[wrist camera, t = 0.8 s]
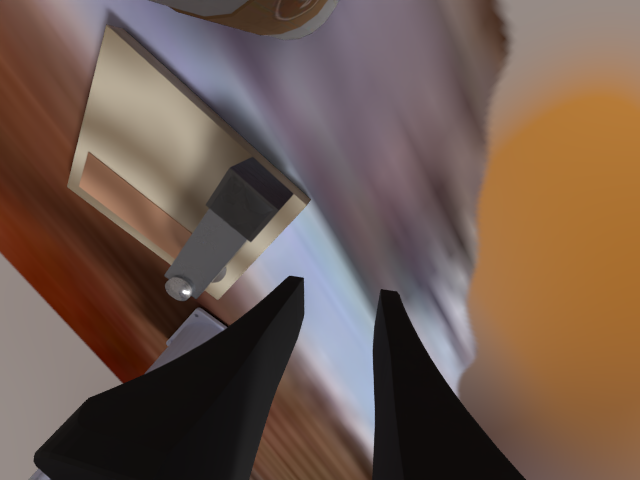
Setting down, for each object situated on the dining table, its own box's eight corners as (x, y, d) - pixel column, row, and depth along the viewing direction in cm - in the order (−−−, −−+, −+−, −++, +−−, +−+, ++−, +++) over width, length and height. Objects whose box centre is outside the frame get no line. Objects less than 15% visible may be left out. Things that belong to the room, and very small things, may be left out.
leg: (214, 284, 24) (191, 310, 21) (181, 259, 23) (152, 283, 20) (293, 193, 18) (276, 213, 15) (252, 156, 17) (225, 169, 14)
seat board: (224, 292, 26) (216, 301, 25) (80, 182, 23) (64, 187, 22) (310, 199, 19) (306, 206, 18) (123, 29, 17) (103, 23, 15)
